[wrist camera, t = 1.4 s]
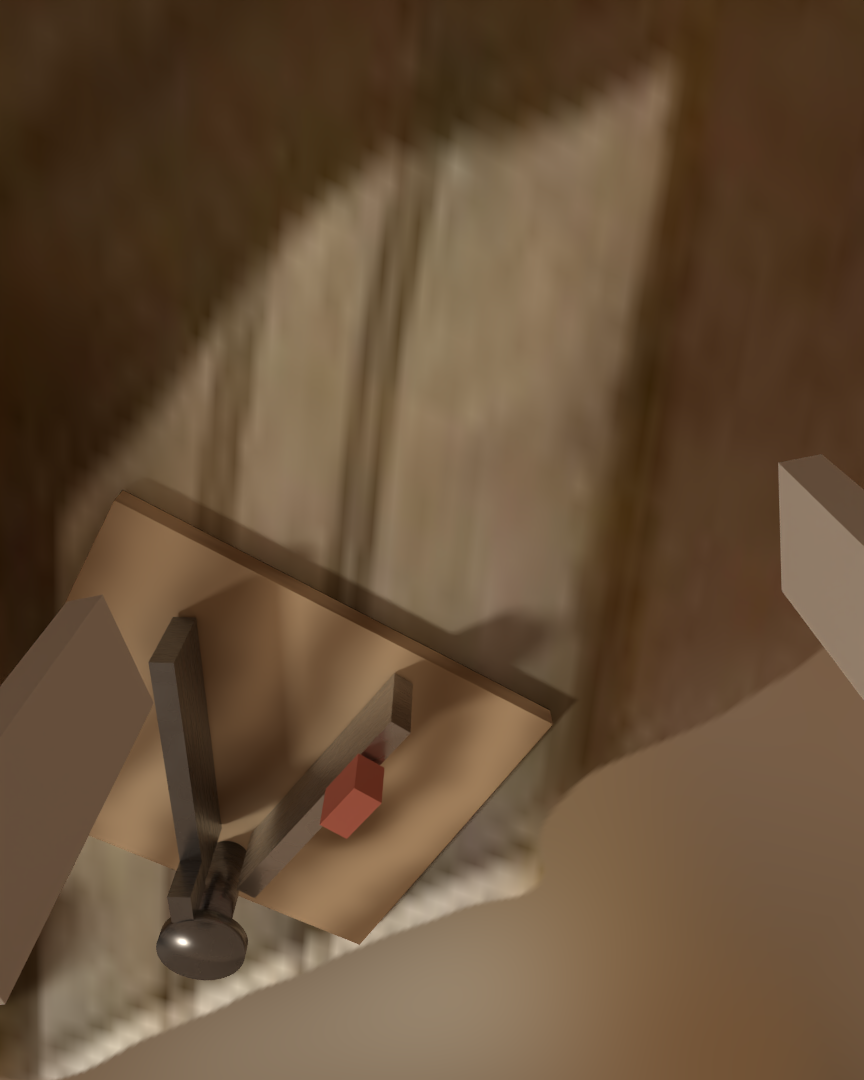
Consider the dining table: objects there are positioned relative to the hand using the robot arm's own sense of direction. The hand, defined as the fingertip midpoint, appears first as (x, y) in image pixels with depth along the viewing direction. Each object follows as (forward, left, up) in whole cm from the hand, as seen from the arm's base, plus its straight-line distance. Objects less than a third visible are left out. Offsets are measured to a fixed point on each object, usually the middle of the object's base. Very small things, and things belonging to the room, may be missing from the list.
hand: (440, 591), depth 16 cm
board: (+4, -26, -23) cm, 35 cm away
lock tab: (+8, -21, -18) cm, 28 cm away
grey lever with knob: (+2, -27, -22) cm, 35 cm away
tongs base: (+7, -26, -22) cm, 35 cm away
